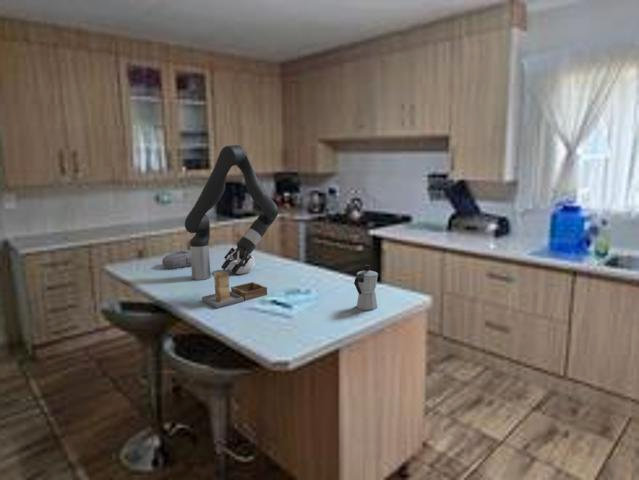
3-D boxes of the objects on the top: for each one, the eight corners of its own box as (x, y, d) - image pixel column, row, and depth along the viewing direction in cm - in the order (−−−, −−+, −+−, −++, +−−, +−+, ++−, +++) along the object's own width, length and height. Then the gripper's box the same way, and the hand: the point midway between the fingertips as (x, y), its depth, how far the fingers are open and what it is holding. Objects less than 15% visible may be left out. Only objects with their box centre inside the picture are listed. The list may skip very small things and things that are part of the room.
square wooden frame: (231, 294, 205) (231, 287, 205) (253, 289, 213) (252, 282, 212) (245, 300, 197) (244, 292, 196) (267, 294, 204) (266, 287, 204)
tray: (202, 301, 197) (201, 296, 196) (228, 294, 205) (228, 290, 205) (216, 308, 187) (216, 304, 187) (243, 301, 196) (243, 297, 195)
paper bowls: (252, 275, 236) (251, 260, 234) (223, 275, 236) (222, 261, 235) (257, 268, 251) (256, 254, 249) (229, 268, 251) (229, 254, 249)
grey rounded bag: (190, 260, 270) (157, 266, 256) (189, 247, 268) (156, 252, 255) (202, 265, 259) (169, 272, 245) (201, 251, 257) (168, 257, 244)
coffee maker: (366, 300, 195) (366, 260, 191) (384, 305, 190) (384, 263, 186) (346, 310, 184) (346, 267, 180) (364, 315, 178) (364, 271, 175)
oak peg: (215, 299, 196) (214, 272, 194) (224, 297, 199) (223, 271, 197) (220, 302, 193) (219, 274, 191) (229, 299, 196) (228, 273, 194)
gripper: (235, 233, 204) (213, 262, 199) (252, 238, 193) (230, 269, 188) (246, 243, 208) (225, 272, 203) (263, 248, 198) (241, 278, 193)
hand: (227, 270), depth 196 cm, fingers open, 8 cm apart
